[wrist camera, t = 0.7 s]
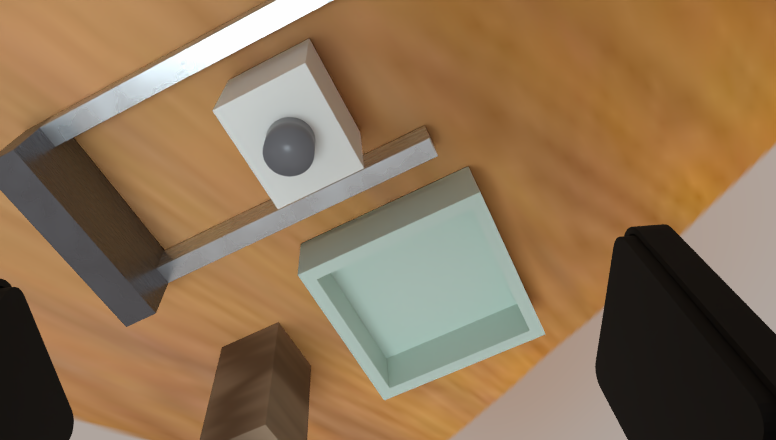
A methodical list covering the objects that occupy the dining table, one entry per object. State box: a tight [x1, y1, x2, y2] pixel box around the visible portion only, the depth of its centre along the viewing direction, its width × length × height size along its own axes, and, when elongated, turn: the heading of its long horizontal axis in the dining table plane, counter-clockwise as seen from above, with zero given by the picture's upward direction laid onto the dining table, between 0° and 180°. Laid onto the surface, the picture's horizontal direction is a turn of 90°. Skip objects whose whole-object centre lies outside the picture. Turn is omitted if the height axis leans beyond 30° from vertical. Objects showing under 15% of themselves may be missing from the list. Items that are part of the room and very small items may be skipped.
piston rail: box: [0, 0, 438, 327], centre depth 33 cm, size 20×11×5 cm, turn 116°
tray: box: [298, 167, 545, 400], centre depth 39 cm, size 12×12×4 cm
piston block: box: [212, 39, 364, 209], centre depth 31 cm, size 5×6×7 cm
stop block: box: [200, 322, 311, 440], centre depth 39 cm, size 4×4×9 cm
